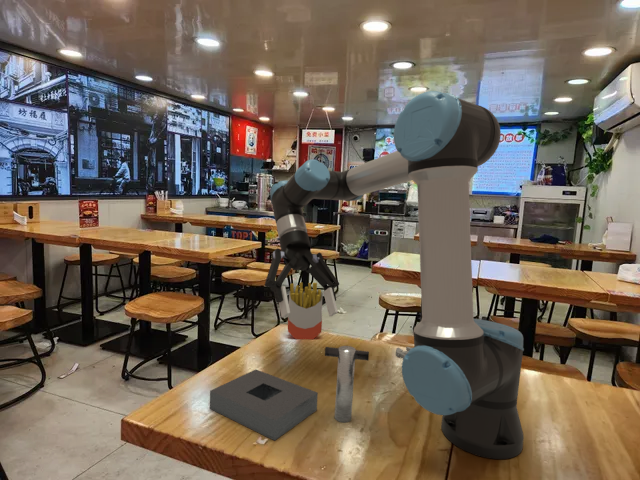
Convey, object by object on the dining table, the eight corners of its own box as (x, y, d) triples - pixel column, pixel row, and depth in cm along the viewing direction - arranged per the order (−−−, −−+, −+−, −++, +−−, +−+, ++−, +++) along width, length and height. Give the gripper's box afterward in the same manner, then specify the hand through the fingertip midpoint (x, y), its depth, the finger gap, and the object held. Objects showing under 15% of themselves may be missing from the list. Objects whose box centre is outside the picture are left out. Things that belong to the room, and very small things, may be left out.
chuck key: (364, 416, 85) (369, 348, 83) (363, 425, 81) (368, 354, 80) (323, 410, 86) (326, 343, 84) (320, 419, 83) (324, 349, 81)
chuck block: (316, 410, 86) (317, 392, 86) (274, 440, 74) (275, 420, 74) (255, 385, 96) (255, 369, 96) (209, 408, 84) (210, 390, 84)
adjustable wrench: (428, 391, 99) (429, 384, 99) (402, 388, 100) (403, 381, 99) (414, 352, 124) (415, 347, 124) (394, 350, 124) (394, 345, 124)
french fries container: (321, 340, 129) (324, 285, 128) (287, 339, 128) (290, 284, 126) (319, 335, 134) (322, 282, 132) (287, 334, 133) (289, 281, 131)
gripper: (323, 247, 112) (342, 319, 103) (242, 238, 97) (255, 321, 88) (339, 233, 107) (360, 308, 98) (256, 222, 92) (271, 309, 83)
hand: (310, 315), depth 93 cm, fingers open, 13 cm apart
